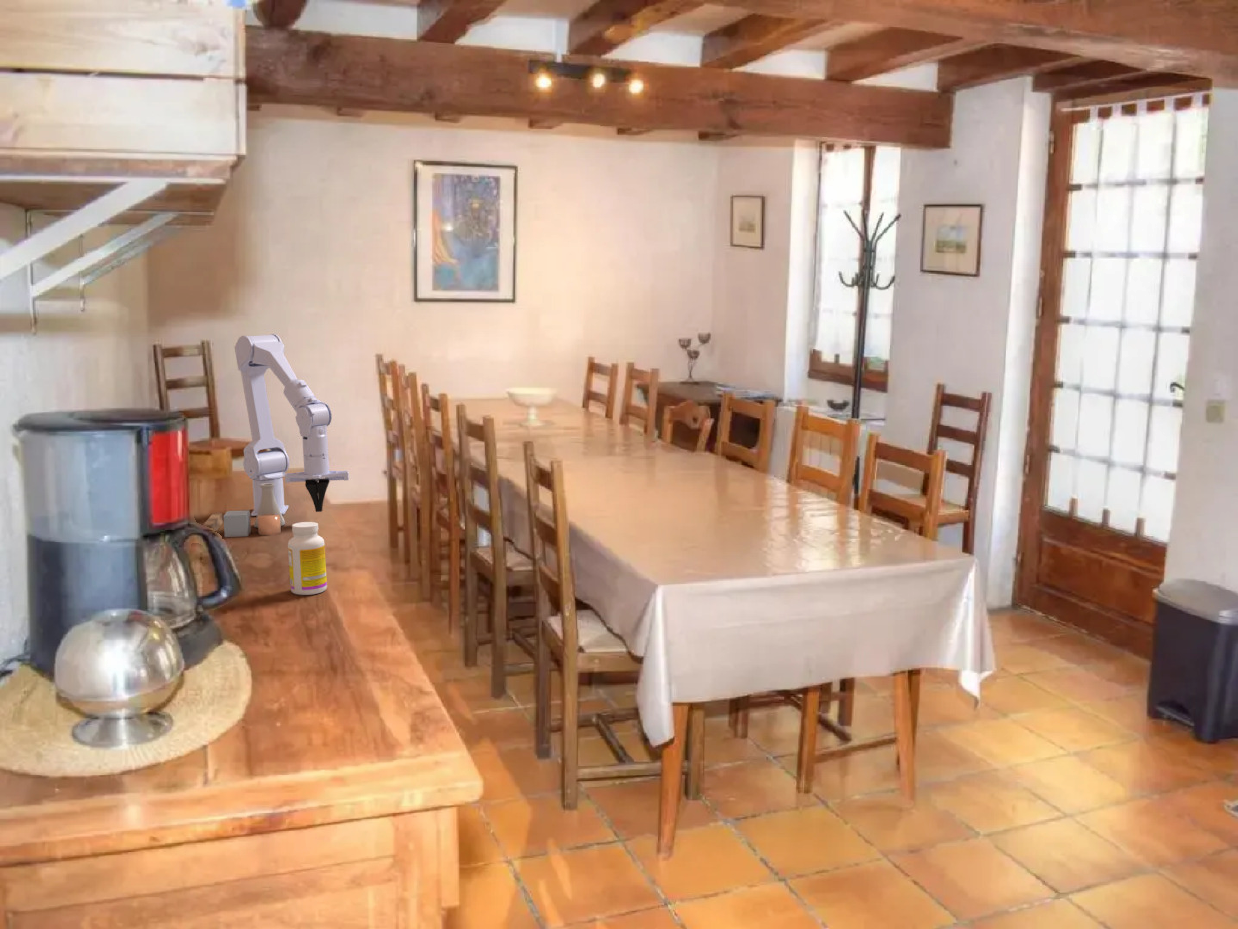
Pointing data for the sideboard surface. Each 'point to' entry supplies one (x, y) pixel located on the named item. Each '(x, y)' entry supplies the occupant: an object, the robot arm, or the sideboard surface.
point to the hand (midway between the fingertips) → (319, 511)
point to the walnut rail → (214, 521)
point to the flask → (268, 503)
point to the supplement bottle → (307, 560)
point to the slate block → (237, 523)
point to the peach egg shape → (269, 524)
